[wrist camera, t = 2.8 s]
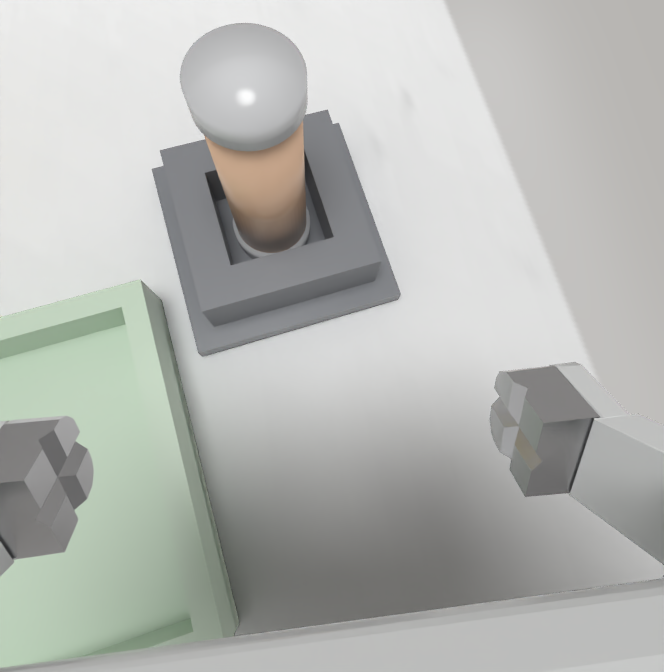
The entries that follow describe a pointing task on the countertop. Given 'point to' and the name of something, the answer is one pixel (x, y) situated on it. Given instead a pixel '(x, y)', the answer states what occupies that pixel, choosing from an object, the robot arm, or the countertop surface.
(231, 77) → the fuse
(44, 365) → the parts tray
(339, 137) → the socket block
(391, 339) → the countertop surface
